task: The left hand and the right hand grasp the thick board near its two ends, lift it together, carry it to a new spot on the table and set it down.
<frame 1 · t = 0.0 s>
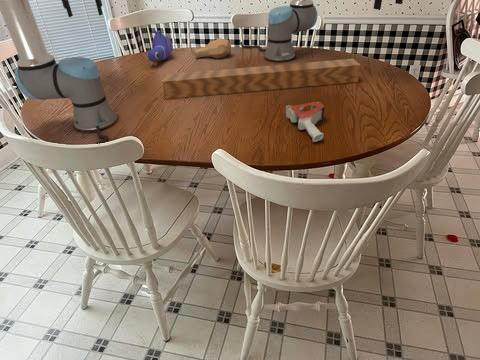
left hand: (85, 15, 157), 28 cm above the table, tool pointing down, fingers open, 13 cm apart
right hand: (387, 6, 140), 28 cm above the table, tool pointing down, fingers open, 13 cm apart
thick board: (261, 86, 153), on the table
toy: (160, 62, 189), on the table
squash: (213, 57, 191), on the table
tape dispenser: (306, 126, 122), on the table
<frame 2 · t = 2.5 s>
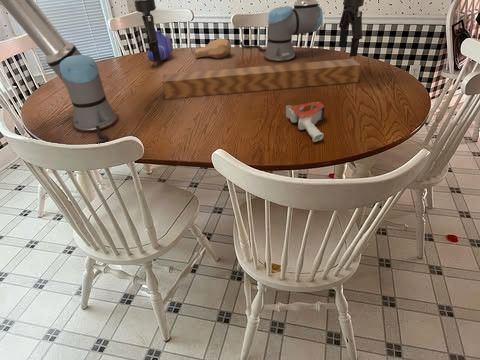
left hand: (155, 55, 147), 15 cm above the table, tool pointing down, fingers open, 13 cm apart
right hand: (347, 51, 148), 12 cm above the table, tool pointing down, fingers open, 13 cm apart
nothing on the table moved.
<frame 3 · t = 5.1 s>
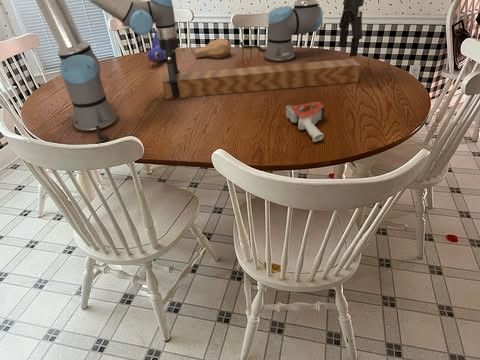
left hand: (176, 93, 151), 0 cm above the table, tool pointing down, fingers closed on thick board, 8 cm apart
right hand: (347, 51, 148), 12 cm above the table, tool pointing down, fingers open, 13 cm apart
thick board: (261, 86, 153), on the table, touching left hand
everything else where it was.
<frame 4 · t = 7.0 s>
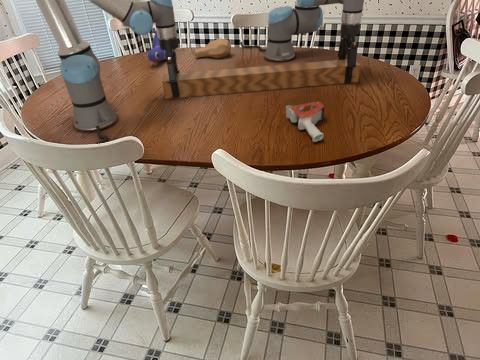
left hand: (176, 93, 151), 0 cm above the table, tool pointing down, fingers closed on thick board, 8 cm apart
right hand: (344, 78, 155), 0 cm above the table, tool pointing down, fingers closed on thick board, 8 cm apart
thick board: (261, 86, 153), on the table, touching left hand, right hand
everything else where it was.
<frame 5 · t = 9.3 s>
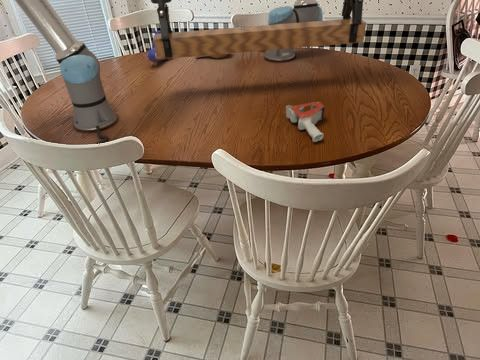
left hand: (169, 53, 142), 17 cm above the table, tool pointing down, fingers closed on thick board, 8 cm apart
right hand: (348, 39, 145), 17 cm above the table, tool pointing down, fingers closed on thick board, 8 cm apart
thick board: (260, 47, 144), point 16 cm above the table, touching left hand, right hand
everything else where it was.
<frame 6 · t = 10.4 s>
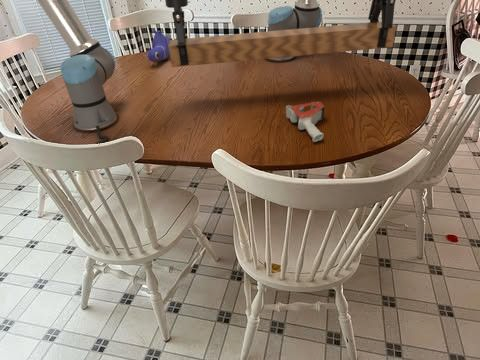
left hand: (184, 60, 133), 17 cm above the table, tool pointing down, fingers closed on thick board, 8 cm apart
right hand: (376, 43, 135), 18 cm above the table, tool pointing down, fingers closed on thick board, 8 cm apart
thick board: (281, 53, 134), point 17 cm above the table, touching left hand, right hand
everything else where it was.
when the left hand's fingers open (2 cm above the table, at t = 13.6 s): thick board stays where it is, on the table.
when the right hand's fingers open (2 cm above the table, at t = 13.6 s): thick board stays where it is, on the table.
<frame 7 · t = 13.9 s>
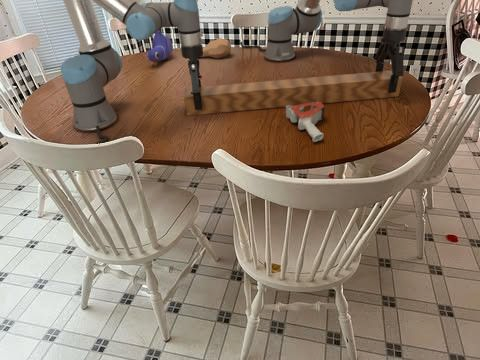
left hand: (198, 102, 136), 3 cm above the table, tool pointing down, fingers open, 12 cm apart
right hand: (384, 86, 139), 3 cm above the table, tool pointing down, fingers open, 12 cm apart
thick board: (291, 101, 139), on the table
everything else where it was.
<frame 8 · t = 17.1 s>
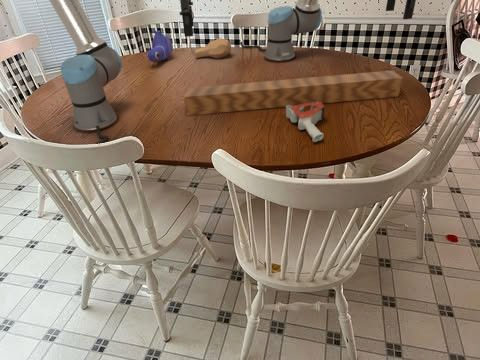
left hand: (189, 31, 121), 29 cm above the table, tool pointing down, fingers open, 13 cm apart
right hand: (398, 14, 124), 29 cm above the table, tool pointing down, fingers open, 13 cm apart
nothing on the table moved.
at the end: thick board inside the target area (0.1 cm from its centre), on the table; thick board tilted 0°; thick board never tilted more than 1° during the clip; both hands held the thick board at the same time; the left hand is holding nothing; the right hand is holding nothing; thick board at rest at the end (0.0 cm/s) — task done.
